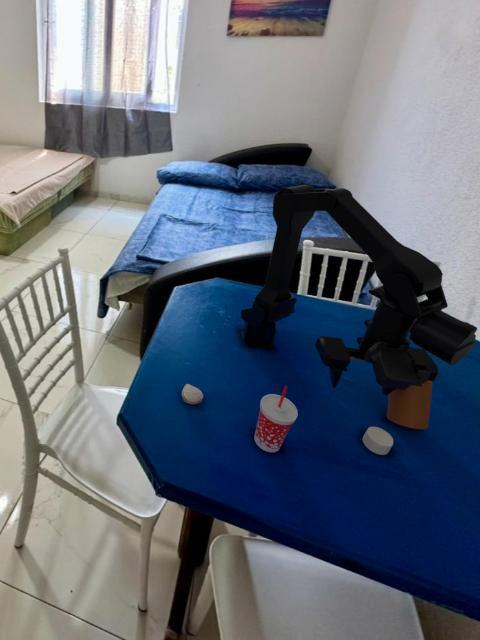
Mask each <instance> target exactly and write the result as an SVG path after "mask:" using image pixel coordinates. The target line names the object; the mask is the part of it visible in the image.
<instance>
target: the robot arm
mask: <svg viewBox="0 0 480 640" xmlns="http://www.w3.org/2000/svg"><path fill="white" fill-rule="evenodd" d="M316 212H326V213H327V214H328V215H329V216H330V217H331V218H332V219H333V220H334V221H335V223H337V225H338V226H339V227H340V228H341V229H342V230H343V231H344V232H345V233H346V234H347V236H349V237H350V239H351V240H352V241H353V242H354V243H355V244H356V245H357V246H358V247H359V248H360V249H361V250H362V251H363V252H364V254H366V256H367V257H368V258H369V259H370V261H371V262H372V263H373V268H374V271H375V275H376V277H377V279H378V280H379V282H380V283H381V284H382V285H379V286H376V287H373V288H370V289H368V291H367V292H368V294H370V295H372V296H373V297H375V298H377V299H379V301H378V302H377V305H376V308H375V309H374V312H373V314H372V315H371V318H370V319H369V318H366V319H365V320H364V322H363V324H364V325H365V327H366V329H365V332H364V334H363V336H357V338H356V340H355V341H356V343H357V344H358V347H357V348H356V347H349V346H346V343H345V342H344V340H343V338H341V337H335V336H328V335H327V336H326V335H320V336H318V337H317V339H316V341H315V343H314V347H315V350H316V351H317V353H318V356H319V358H320V360H321V363H322V364H323V365H324V366H327V367H328V368H329V377H330V378H329V379H330V384H331V387H332V388H334V389H336V387H337V386H338V385H339V382H340V379H341V377H342V375H343V373H344V372H348V369H347V367H349V366H350V363H351V361H357V362H364V363H367V364H371V366H372V369H373V372H374V376H375V382H376V383H377V384H378V385H379V386H380V387H382V389H381V393H382V395H383V396H389V394H390V393H391V392H393V391H394V390H396V389H400V390H405V389H407V388H408V387H409V386H411V385H413V386H422V383H424V382H426V381H427V380H428V381H431V382H434V381H435V380H436V379H437V377H438V376H439V374H440V368H439V366H438V364H436V363H435V361H434V360H433V358H432V357H431V355H432V356H434V357H436V358H438V359H440V360H442V361H443V362H444V363H446V364H448V365H449V366H455V365H457V364H458V363H460V362H461V361H462V360H463V359H464V358H465V357H466V356H467V355H468V354H469V353H470V352H471V350H472V349H473V347H474V346H475V344H476V338H477V335H476V334H475V333H477V331H478V327H477V326H475V325H473V324H471V323H470V322H466V321H463V320H462V319H461V320H460V319H458V318H457V317H455V316H452V315H451V314H449V313H447V312H445V311H443V310H445V309H446V308H448V306H449V305H448V302H447V301H448V300H447V298H446V295H445V292H444V289H443V285H442V282H443V276H444V274H443V270H442V269H441V268H440V266H438V265H437V263H435V262H433V261H432V260H431V259H429V258H428V257H426V256H425V255H423V254H422V253H420V252H419V251H417V250H416V249H413V248H410V247H408V246H406V245H404V244H402V243H401V242H400V241H398V240H397V239H396V238H395V237H394V236H393V235H392V234H391V232H389V231H388V230H387V228H385V227H384V226H383V225H382V224H381V223H380V222H379V221H378V220H377V219H376V218H375V217H374V216H373V215H372V214H371V213H370V212H369V211H368V210H367V209H365V207H363V205H362V204H360V202H358V201H357V200H356V198H355V197H353V193H352V192H351V190H349V189H347V188H344V187H340V188H314V187H313V186H312V185H309V184H301V185H295V186H289V187H283V188H281V189H279V190H278V191H276V193H275V194H274V196H273V199H272V217H273V219H274V222H275V225H276V231H275V235H274V241H273V245H272V250H271V255H270V259H269V264H268V269H267V274H266V278H265V283H264V285H263V287H262V288H261V289H260V291H258V293H257V294H256V295H255V298H254V299H253V300H254V301H253V302H252V306H250V307H248V308H244V309H241V310H240V316H241V320H243V322H244V324H243V327H241V328H240V334H241V337H242V339H241V340H242V342H243V345H244V347H249V348H258V349H266V350H272V348H273V345H272V344H273V342H274V339H275V337H276V333H277V327H276V325H277V324H276V322H280V321H282V320H283V319H287V318H289V317H290V316H291V315H292V314H294V313H295V306H296V303H297V301H298V299H297V297H296V296H293V295H292V293H291V290H290V283H291V279H292V276H293V272H294V267H295V263H296V259H297V254H298V251H299V246H300V242H301V238H302V233H303V231H304V229H305V228H306V226H307V225H308V223H309V222H310V221H311V220H312V218H313V217H314V215H315V213H316ZM422 296H425V297H426V299H423V300H421V301H419V299H418V298H420V297H422ZM408 336H409V338H408ZM410 341H412V343H413V344H415V346H418V348H417V347H411V346H410V345H411V342H410ZM428 353H430V354H431V355H429V354H428Z"/></svg>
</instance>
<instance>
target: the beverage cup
mask: <svg viewBox="0 0 480 640" xmlns="http://www.w3.org/2000/svg"><path fill="white" fill-rule="evenodd" d="M288 388H289V386H288V385H284V387H283V390H282V394H281V395H279V394H276V393H268V394H266V395H263V396H262V398H261V399H260V403H259V413H258V418H257V422H256V428H255V431H254V442H255V444H256V445H257V446H258V447H259V448H260V449H261V450H263V451H264V452H267V453H276V452H278V451H280V449H281V447H282V445H283V444H284V441H285V439H286V437H287V435H288V433H289V431H290V429H291V427H292V425H293V424H294V423H295V422H296V420H297V418H298V417H299V414H298V408H297V407H296V405H295V404H294V403H293V402H292V401H291V400H290V399H288V398H286V397H285V396H286V393H287V391H288Z"/></svg>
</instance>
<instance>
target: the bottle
mask: <svg viewBox="0 0 480 640" xmlns="http://www.w3.org/2000/svg"><path fill="white" fill-rule="evenodd" d="M432 394H433V381H428V380H427V381H426V382H424V383H422V386H413V385H411V386H409V387H408V388H407V389H405V390H400V389H396V390H394V391H393V392H391V393H390V394H388V400H387V409H386V410H387V411H386V418H387V419H388V420H389V421H391V422H392V423H394V424H397V425H398V426H402V427H405V428H409V429H415V430H427V429H429V424H430V416H431V404H432V396H433V395H432Z"/></svg>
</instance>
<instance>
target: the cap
mask: <svg viewBox="0 0 480 640" xmlns="http://www.w3.org/2000/svg"><path fill="white" fill-rule="evenodd" d="M362 443H363V444H364V446H365V447H366V448H367V449H368V450H369V451H371V452H372V453H374V454H377V455H380V456H385V455H388V454H389V452H390V451H391V449H392V447H393V446H394V443H395V442H394V438H393V436H392V435H391V433H389V432H388V431H386V430H384V429H382V428H381V427H378V426H369V427H368V428H367V429H366V431H365V432H364V434H363V437H362Z"/></svg>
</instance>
